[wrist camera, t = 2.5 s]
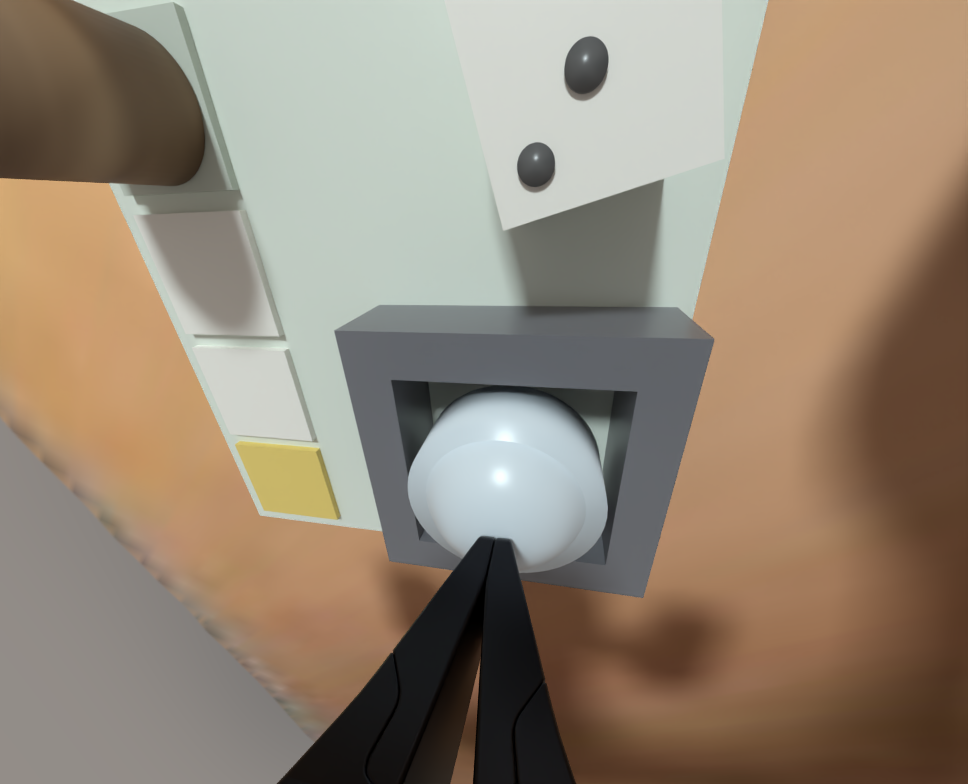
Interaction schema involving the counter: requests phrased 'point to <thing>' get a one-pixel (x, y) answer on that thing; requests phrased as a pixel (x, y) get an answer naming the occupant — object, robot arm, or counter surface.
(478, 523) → the dome
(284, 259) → the board
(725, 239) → the counter surface
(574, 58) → the die
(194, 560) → the counter surface
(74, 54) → the pawn
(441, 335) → the base
